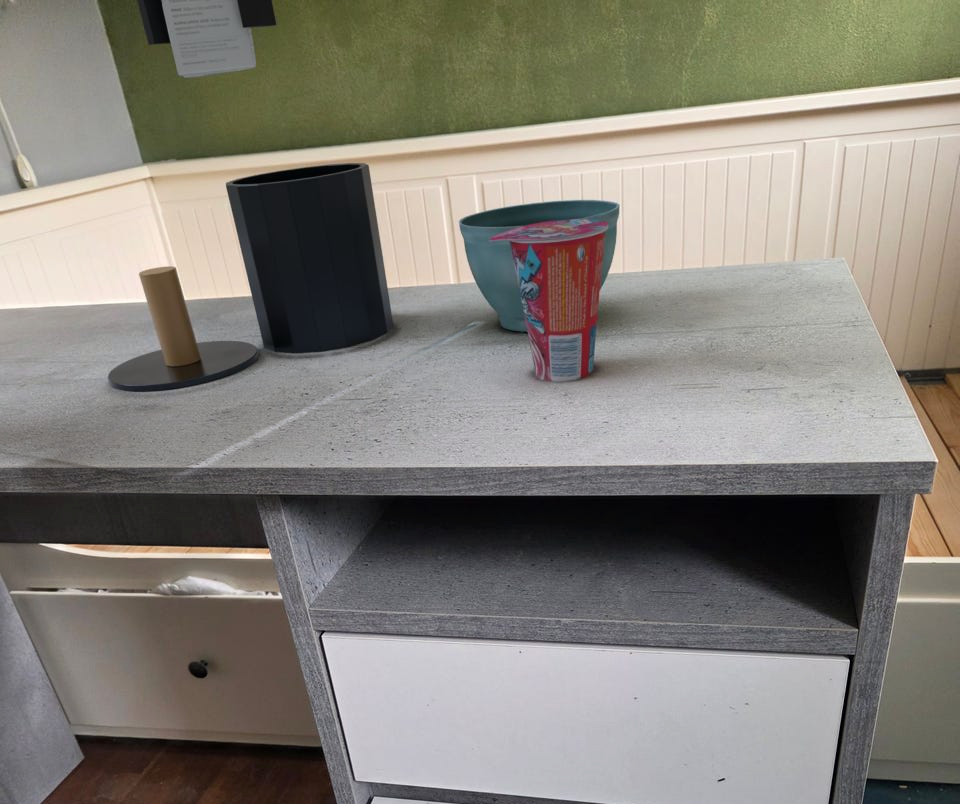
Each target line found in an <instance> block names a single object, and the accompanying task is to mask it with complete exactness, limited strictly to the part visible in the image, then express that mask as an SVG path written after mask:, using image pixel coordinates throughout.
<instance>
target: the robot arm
mask: <svg viewBox="0 0 960 804" xmlns="http://www.w3.org/2000/svg"><path fill="white" fill-rule="evenodd" d="M136 2H137V6H138V10H139V14H140V17H141V20H142V25H143V29H144V33H145V37H146V41H147V44H148V46H153V45H154V46H155V45H168V44H169V45H171V41H170V37H169V33H168V28H167V24H166V19H165V15H164V10H163V6H162V2H161V0H136ZM237 2H238V6H239V11H240V16H241V21H242V25H243V28H250V29H252V28H267V27H268V28H269V27H273V26H274V27H275V26H277V20H276V15H275V11H274V5H273V0H237Z"/></svg>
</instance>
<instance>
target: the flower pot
mask: <svg viewBox="0 0 960 804" xmlns="http://www.w3.org/2000/svg"><path fill="white" fill-rule="evenodd" d="M620 207H621V205H620V203H619V202H615V201H611V200H610V201H609V200H600V199H570V200H569V199H568V200H551V201H542V202H531V203H525V204H515V205H510V206H503V207H497V208H492V209H488V210H484V211H480V212H476V213H473V214H469V215H467V216H464V217H462V218H460V219H459V220H458V226H459V231H460V234H461V236H462V238H463V245H464V251H465V255H466V259H467V263H468V266H469V269H470V272H471V275H472V277H473V279H474V282H475V284H476V286H477V287H478V290H479V291H480V293H481V294H482V296H483V298H484V299H485V300H486V302H487V303H488V304H489V305H490V307H491V308H492V309H493V310H494V311H495V312H496V313H497V316H498V320H499V324H500V326H501V327H502V328H504V329H505V330H508V331H515V332H522V333H523V332H524V333H526V332H527V333H528V331H527V326H526V321H525V316H524V311H523V306H522V301H521V296H520V291H519V286H518V281H517V276H516V271H515V266H514V261H513V256H512V251H511V246H510V241H509V240H496V241H489V239H490V238H492V237H493V236H495V235H498V234H500V233H503V232H506V231H509V230H512V229H515V228H518V227H522V226H526V225H530V224H536V223H542V222H549V221H558V220H572V219H596V220H603V221H606V222H608V229H607V230H606V232H605V242H604V253H603V263H602V273H601V283H600V291H601V290H602V287H604V284H605V282H606V280H607V278H608V274H609V272H610V269H611V267H612V263H613V260H614V255H615V250H616V246H617V236H618V235H617V233H618V232H617V231H618V221H619V220H618V219H619V216H620Z"/></svg>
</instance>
